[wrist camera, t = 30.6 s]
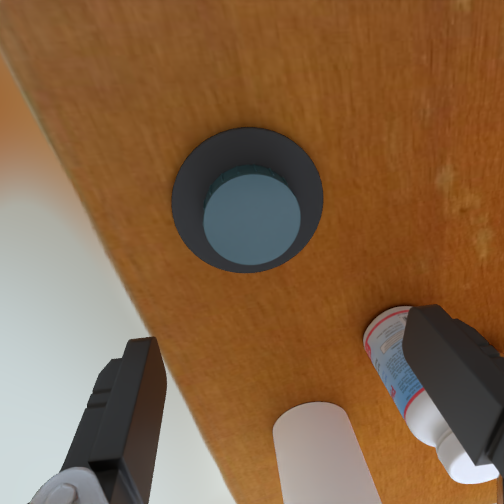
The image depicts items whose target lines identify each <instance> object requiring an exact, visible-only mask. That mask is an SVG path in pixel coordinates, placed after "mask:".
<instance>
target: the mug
mask: <svg viewBox="0 0 504 504" xmlns="http://www.w3.org/2000/svg"><path fill="white" fill-rule="evenodd" d="M273 438H274V445H275V451H276V457H277V463H278V469H279V476H280V482H281V488H282V494H283V501H284V504H382V502H381V500H380V497H379V495H378V492H377V490H376V487H375V484H374V482H373V479H372V477H371V474H370V472H369V469H368V467H367V464H366V461H365V459H364V456H363V454H362V451H361V449H360V446H359V444H358V441H357V438H356V436H355V433H354V431H353V428H352V426H351V423H350V421H349V418H348V415H347V413H346V412H345V411H344V410H343V409H342V408H341V407H339V406H337V405H335V404H332V403H327V402H311V403H306V404H302V405H299V406H296V407H294V408H292V409H290V410H288V411H287V412H285V413H284V414H283V415H281V416H280V417H279V419H278V420H277V421H276V423H275V425H274V427H273Z"/></svg>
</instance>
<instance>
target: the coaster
mask: <svg viewBox="0 0 504 504" xmlns="http://www.w3.org/2000/svg"><path fill="white" fill-rule="evenodd" d="M253 164H255V165H258V166H263V167H266V168H268V169H269V168H271V170H272V171H274V172H276V173H277V174H278V175H279V176H281V177H283V178H284V179H285V180H286V182H287V183H288V186H289V188H290V189H291V190H292V191H293V193H294V194H295V195H296V197H297V201H298V204H299V207H300V212H301V223H300V228H299V232H298V234H297V237H296V238H295V240H294V242H293V243H292V245H291V246H290V247H289V248H288V249H287V250H286V251H285V252H284V253H283V254H282V255H280V256H279V257H277V258H275V259H273V260H271V261H269V262H266V263H262V264H257V265H243V264H238V263H234V262H231V261H229V260H227V259H225V258H224V257H222V256H221V255H219V254H218V253H217V252H216V251H215V250H214V249H213V248H212V246H211V245H210V243H209V242H208V240H207V238H206V235H205V232H204V227H203V215H204V210H203V204H204V199H206V195H207V193H208V190H209V188H210V185H212V184H213V183H214V181H215V180H216V179H217V178H218V177H219V176H220V175H221V173H224V172H226V171H228V170H230V169H232V168H234V167H236V166H237V165H238V166H242V165H253ZM322 208H323V189H322V183H321V180H320V176H319V173H318V171H317V169H316V167H315V165H314V163H313V162H312V160H311V159H310V157H309V156H308V155H307V154H306V153H305V151H304V150H303V149H302V148H301V147H299V146H298V145H297V144H296V143H294V142H293V141H292V140H290V139H289V138H287V137H285V136H284V135H282V134H279V133H277V132H274V131H271V130H267V129H264V128H256V127H241V128H235V129H230V130H227V131H223V132H220V133H218V134H216V135H214V136H212V137H210V138H208V139H207V140H205V141H204V142H202V143H201V144H200V145H199V146H198V147H196V148H195V149H194V150H193V151H192V152H191V154H190V155H189V156H188V157H187V158H186V160H185V161H184V163H183V164H182V166H181V168H180V170H179V172H178V174H177V177H176V180H175V183H174V186H173V192H172V213H173V218H174V222H175V226H176V228H177V230H178V233H179V235H180V236H181V238H182V240H183V241H184V243H185V244H186V245H187V247H188V248H189V249H190V250H191V251H192V252H193V253H194V254H195V255H196V256H198V257H199V258H200V259H202V260H203V261H204V262H206V263H208V264H210V265H212V266H214V267H216V268H219V269H222V270H225V271H229V272H235V273H255V272H261V271H265V270H269V269H272V268H275V267H277V266H279V265H281V264H283V263H285V262H287V261H288V260H290V259H291V258H293V257H294V256H295V255H296V254H298V253H299V252H300V251H301V250H302V249H303V248H304V247H305V246H306V244H307V243H308V242H309V240H310V239H311V238H312V236H313V234H314V232H315V230H316V229H317V226H318V224H319V221H320V218H321V213H322Z"/></svg>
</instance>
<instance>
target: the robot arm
mask: <svg viewBox="0 0 504 504" xmlns="http://www.w3.org/2000/svg"><path fill="white" fill-rule="evenodd" d="M402 350H403V354H404V357H405V360H406V362H407V363H408V365H409V366H410V368H411V369H412V371H413V372H414V374H415V375H416V377H417V379H418V380H419V382H420V383H421V385H422V386H423V388H424V389H425V391H426V392H427V394H428V395H429V397H430V398H431V400H432V401H433V403H434V404H435V406H436V407H437V409H438V410H439V412H440V413H441V415H442V416H443V418H444V419H445V421H446V422H447V424H448V425H449V427H450V428H451V430H452V432H453V433H454V435H455V436H456V438H457V439H458V441H459V442H460V444H461V445H462V447H463V448H464V450H465V451H466V453H467V454H468V456H469V457H470V459H471V460H472V462H473V463H474V465H475V466H480V465H487V464H493V465H494V466H495V467H496V469H497V470H498V472H499V474H498V477H497V504H504V357H501V356H500V353H499V352H498V351H497V350H496V349H495V348H494V347H493V346H492V345H489V342H488V341H487V340H486V339H485V338H484V337H483V336H482V335H480V334H479V333H478V332H477V331H476V330H475V329H474V328H472V327H471V326H469V325H467V324H465V323H464V322H462V321H460V320H459V319H452V318H451V317H450V316H449V315H448V314H447V313H446V312H445V311H444V310H443V309H442V308H441V307H440V306H439V305H437V304H433V305H425V306H416V307H411V308H410V309H409V312H408V316H407V321H406V326H405V331H404V336H403V340H402ZM166 390H167V377H166V371H165V367H164V363H163V360H162V356H161V353H160V349H159V346H158V342H157V339H156V338H155V337H146V338H138V339H130V340H129V341H128V342H127V345H126V348H125V351H124V354H123V357H122V358H118V359H111V361H110V362H109V363H108V364H107V365H106V367H105V368H104V369H103V370H102V371H101V372H100V374H99V375H98V378H97V380H96V383H95V386H94V388H93V393H92V394H91V396H90V398H89V401H88V403H87V408H86V409H85V411H84V413H83V416H82V419H81V421H80V423H79V426H78V428H77V431H76V434H75V436H74V439H73V441H72V444H71V446H70V449H69V451H68V454H67V456H66V459H65V462H64V464H63V466H62V468H61V470H60V472H59V473H58V474H56V475H55V476H53V477H52V478H51V479H49V480H48V481H47V482H46V483H45V484H44V485H43V486H42V487H41V488H40V489H39V490H38V491H37V492H36V494H35V495H34V497H33V498H32V500H31V501H30V502H29V503H28V504H148V503H149V497H150V490H151V484H152V478H153V472H154V466H155V459H156V453H157V447H158V440H159V434H160V428H161V422H162V416H163V409H164V403H165V397H166Z"/></svg>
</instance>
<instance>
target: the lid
mask: <svg viewBox="0 0 504 504" xmlns="http://www.w3.org/2000/svg"><path fill="white" fill-rule="evenodd" d="M203 210H204V215H203V227H204V232H205V235H206V238H207V240H208V242H209V243H210V245H211V246H212V248H213V249H214V250H215V251H216V252H217V253H218V254H219V255H221V256H222V257H224V258H225V259H227V260H229V261H231V262H234V263H238V264H243V265H257V264H262V263H266V262H269V261H271V260H273V259H275V258H277V257H279V256H280V255H282V254H283V253H284V252H285V251H286V250H287V249H288V248H289V247H290V246H291V245H292V243H293V242H294V240H295V238H296V237H297V234H298V232H299V228H300V223H301V212H300V207H299V204H298V201H297V197H296V195H295V194H294V193H293V191H292V190H291V189H290V188H289V186H288V183H287V182H286V180H285V179H284V178H283V177H281V176H279V175H278V174H277V173H276V172H274V171H272V170H271V168H269V169H268V168H266V167H263V166H258V165H255V164H253V165H242V166H238V165H237V166H236V167H234V168H232V169H230V170H228V171H226V172H224V173H221V175H220V176H219V177H218V178H217V179H216V180H215V181H214V183H213V184H212V185H210V188H209V190H208V193H207V195H206V199H204V204H203Z"/></svg>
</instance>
